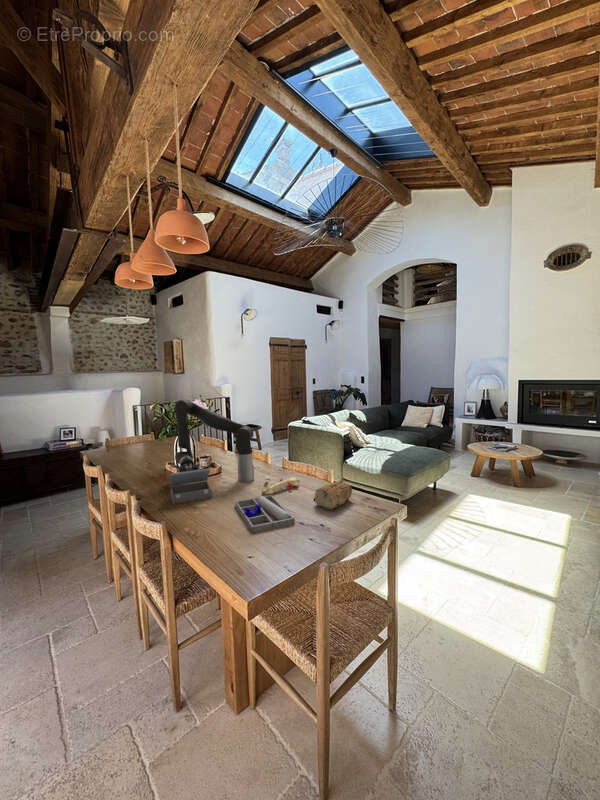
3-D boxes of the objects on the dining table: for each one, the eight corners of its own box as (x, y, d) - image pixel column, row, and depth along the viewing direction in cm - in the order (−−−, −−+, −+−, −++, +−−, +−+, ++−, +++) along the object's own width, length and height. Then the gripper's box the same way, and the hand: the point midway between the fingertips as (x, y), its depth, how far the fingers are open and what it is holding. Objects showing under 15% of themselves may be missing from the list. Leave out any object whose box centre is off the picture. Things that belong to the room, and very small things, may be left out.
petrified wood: (334, 493, 187) (337, 477, 185) (354, 505, 179) (358, 487, 177) (311, 503, 172) (315, 485, 170) (331, 516, 164) (335, 497, 162)
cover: (207, 480, 197) (207, 478, 198) (210, 470, 186) (209, 468, 186) (170, 485, 189) (170, 484, 190) (170, 475, 178) (170, 473, 178)
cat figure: (270, 500, 184) (304, 485, 200) (269, 485, 182) (303, 471, 199) (259, 495, 191) (293, 481, 208) (258, 480, 190) (291, 467, 206)
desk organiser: (271, 499, 181) (271, 495, 181) (294, 523, 153) (294, 518, 153) (235, 506, 173) (235, 501, 173) (252, 532, 145) (252, 527, 145)
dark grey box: (207, 489, 198) (207, 481, 197) (212, 498, 184) (211, 489, 184) (170, 495, 190) (170, 486, 189) (172, 504, 176) (172, 495, 176)
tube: (293, 513, 155) (266, 496, 176) (283, 512, 152) (257, 495, 173) (290, 525, 155) (263, 506, 175) (280, 524, 152) (254, 505, 172)
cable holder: (248, 519, 157) (248, 511, 157) (244, 517, 160) (244, 509, 159) (262, 514, 163) (262, 506, 162) (258, 511, 165) (258, 504, 165)
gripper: (174, 458, 198) (176, 466, 182) (198, 456, 203) (202, 463, 187) (175, 471, 198) (177, 480, 183) (198, 468, 204) (202, 477, 188)
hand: (189, 472), depth 185 cm, fingers closed
